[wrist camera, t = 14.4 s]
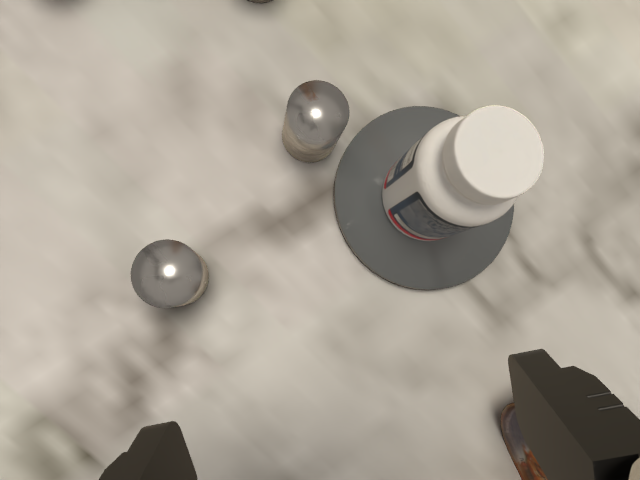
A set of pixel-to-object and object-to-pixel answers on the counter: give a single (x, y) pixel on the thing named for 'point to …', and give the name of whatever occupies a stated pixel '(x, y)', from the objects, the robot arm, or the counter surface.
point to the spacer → (314, 120)
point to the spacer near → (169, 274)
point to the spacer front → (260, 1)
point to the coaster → (377, 230)
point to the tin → (519, 446)
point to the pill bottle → (463, 173)
